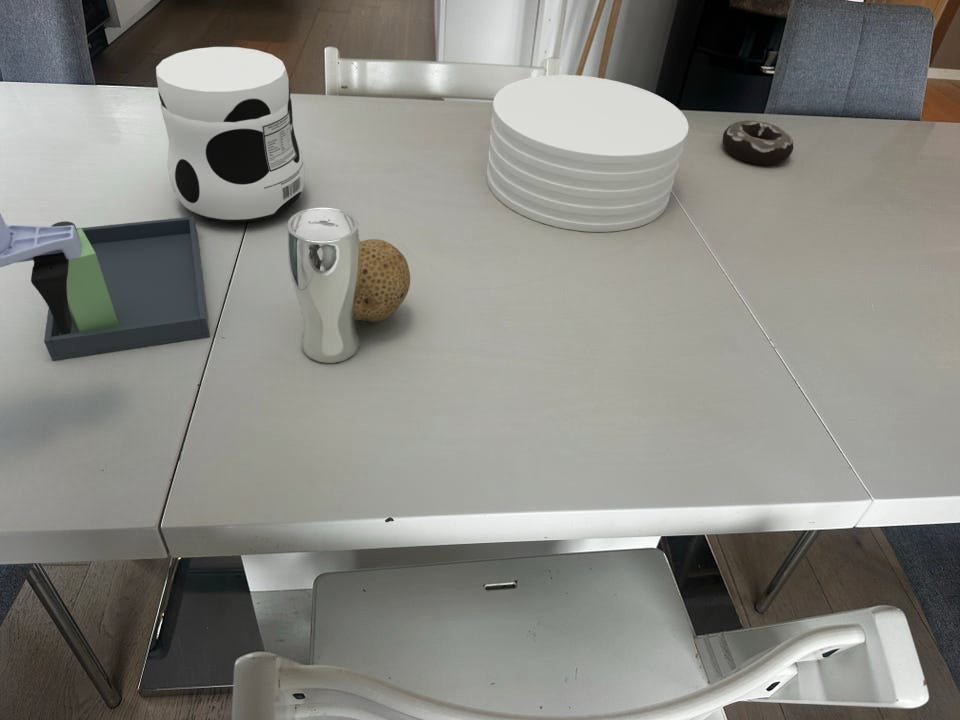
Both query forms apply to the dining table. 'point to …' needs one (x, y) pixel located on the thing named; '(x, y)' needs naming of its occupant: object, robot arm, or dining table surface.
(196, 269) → the dark grey tray
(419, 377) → the dining table surface
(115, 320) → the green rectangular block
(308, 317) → the beer glass
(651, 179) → the plate stack
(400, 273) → the natural sponge
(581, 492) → the dining table surface
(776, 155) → the donut
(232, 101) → the milk container
